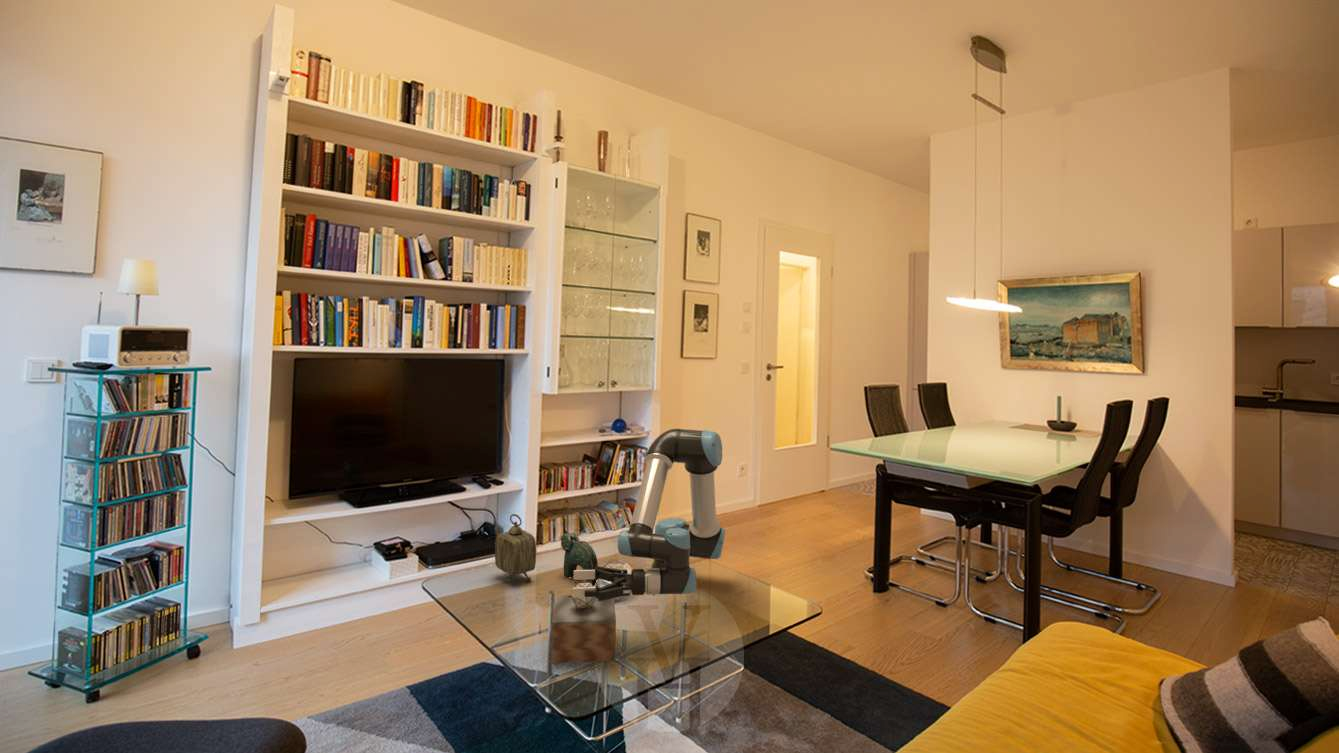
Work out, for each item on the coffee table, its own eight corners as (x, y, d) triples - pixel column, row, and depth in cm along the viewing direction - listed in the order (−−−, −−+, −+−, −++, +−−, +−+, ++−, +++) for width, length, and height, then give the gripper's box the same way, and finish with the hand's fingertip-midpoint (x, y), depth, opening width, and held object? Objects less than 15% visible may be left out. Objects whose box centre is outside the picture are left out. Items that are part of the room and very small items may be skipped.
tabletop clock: (535, 582, 239) (536, 516, 237) (515, 589, 232) (515, 521, 230) (513, 571, 249) (514, 508, 247) (493, 577, 242) (493, 512, 240)
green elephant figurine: (558, 575, 245) (559, 524, 244) (573, 571, 250) (573, 521, 248) (588, 592, 231) (589, 538, 229) (603, 588, 235) (604, 535, 233)
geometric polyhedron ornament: (587, 622, 190) (593, 605, 183) (561, 609, 191) (566, 591, 184) (600, 598, 197) (606, 581, 190) (575, 585, 198) (581, 568, 191)
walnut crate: (612, 630, 202) (613, 594, 202) (615, 660, 185) (615, 620, 184) (554, 632, 200) (555, 595, 199) (551, 663, 182) (552, 622, 181)
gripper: (648, 611, 181) (572, 614, 179) (641, 577, 206) (573, 579, 203) (649, 586, 181) (572, 588, 178) (641, 555, 205) (574, 556, 202)
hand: (573, 583), depth 190 cm, fingers open, 12 cm apart
